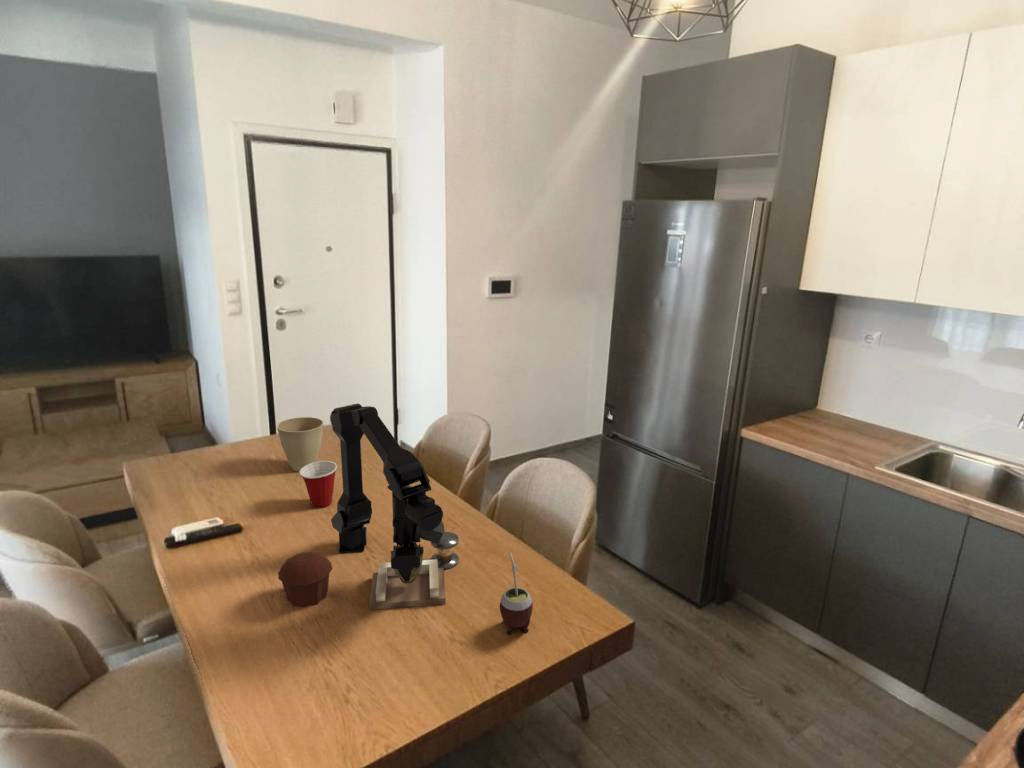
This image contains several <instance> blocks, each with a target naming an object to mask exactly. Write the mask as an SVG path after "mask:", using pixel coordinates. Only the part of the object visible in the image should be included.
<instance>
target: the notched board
mask: <svg viewBox="0 0 1024 768" xmlns="http://www.w3.org/2000/svg"><path fill="white" fill-rule="evenodd" d="M371 578H372V579H371V586H370V593H369V594H370V595H369V601H368V609H369V611H370V610H382V609H396V608H397V609H398V608H407V607H409V608H410V607H419V606H420V607H422V606H423V607H424V606H436V605H446V603H447V602H446V601H447V599H446V585H445V584H446V582H445V569H444V568H438V562H437V559H434V560H431V559H423V560H422V567H421V570H420V572H419V573H418V574H417V575H416V579H415V580H414V581H413V582H412V583H408V584H406V583H403V582H401V580H400V577H399V576H397V574H396V573H395V571H394V569H392V568H391V561H390V562H378V570H377V571H375V572H372V577H371Z"/></svg>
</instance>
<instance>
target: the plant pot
mask: <svg viewBox="0 0 1024 768" xmlns="http://www.w3.org/2000/svg"><path fill="white" fill-rule="evenodd" d="M276 428H277V433H278V437H279V441H280V443H281V448H282V449H283V452H284V455H285V458H286V460H287V462H288V463H289V465H290V467H291V469H292V470H293V471H295V472H299V471H300V470H301V468H303V467H304V466H306V465H308V464H310V463H313V462H318V457H319V454H320V451H321V450H320V449H321V445H322V440H323V433H324V421H323V420H322V419H321V418H317V417H312V416H305V417H303V416H302V417H301V416H300V417H292V418H287V419H284V420H282V421H280V422H278V423H277V425H276Z"/></svg>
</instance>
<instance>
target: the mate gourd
mask: <svg viewBox="0 0 1024 768" xmlns="http://www.w3.org/2000/svg"><path fill="white" fill-rule="evenodd" d="M508 554H509V555H508V556H509V558H510V562H511V566H512V567H511V569H512V570H511V571H512V573H513V583H514V584H513V585H514V587H512V588H509V589H507V590H506V591H505V592H504V593H503V594H502V595H501V598H500V602H499V611H500V615H501V618H502V623H504V624H506V627H507V631H506V635H508V636H511V635H512V633H514V632H515V630H519V631H520V632H524V633H526V634H527V633H529V630H530V629H529V628H528V627H529V626H530V622H531V616H532V613H533V609H534V607H533V606H534V605H533V599H532V597H531V594H530V593H529V592H528V591H527V590H525V589H524V588H520V587H518V583H517V573H516V572H517V568H516V564H515V561H514V557H513V554H512V551H508Z"/></svg>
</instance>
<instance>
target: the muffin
mask: <svg viewBox="0 0 1024 768" xmlns="http://www.w3.org/2000/svg"><path fill="white" fill-rule="evenodd" d="M332 569H333V565H332V561H330V560H329V558H327V557H326V556H324V555H322V554H321V553H319V552H313V551H306V552H305V551H304V552H300V553H297V554H295V555H293V556H291V557H289V558H287V560H285V562H283V564H282V565H281V566H280V569H279V571H278V572H277V576H278V580H279V581H281V583H282V587H283V590H284V593H285V596H286V600H287V601H288V603H290V604H291V605H292V606H293V607H301V608H307V607H311V606H315V605H319V603H320V602H321V601H323V600H325V599H326V598H327V593H328V590H329V581H330V573H331V572H332Z"/></svg>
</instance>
